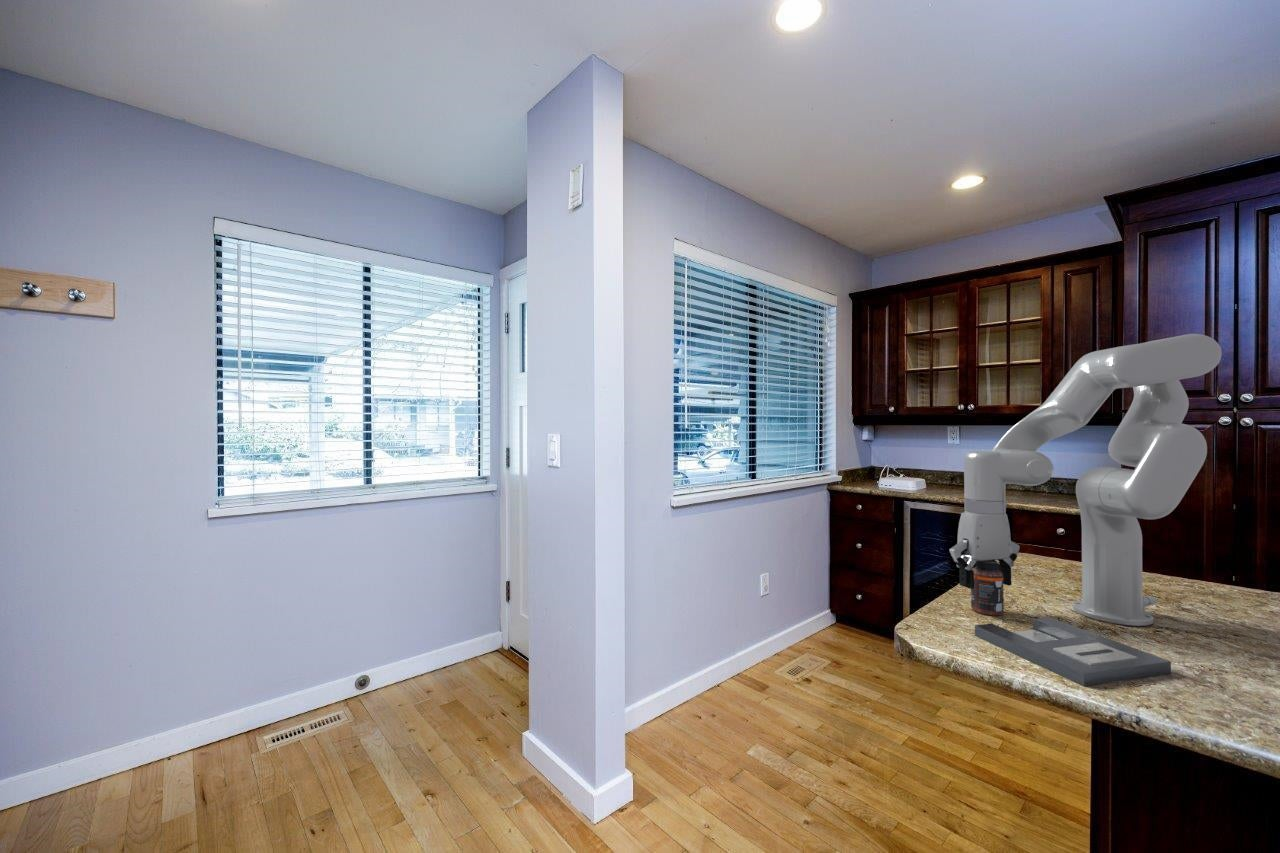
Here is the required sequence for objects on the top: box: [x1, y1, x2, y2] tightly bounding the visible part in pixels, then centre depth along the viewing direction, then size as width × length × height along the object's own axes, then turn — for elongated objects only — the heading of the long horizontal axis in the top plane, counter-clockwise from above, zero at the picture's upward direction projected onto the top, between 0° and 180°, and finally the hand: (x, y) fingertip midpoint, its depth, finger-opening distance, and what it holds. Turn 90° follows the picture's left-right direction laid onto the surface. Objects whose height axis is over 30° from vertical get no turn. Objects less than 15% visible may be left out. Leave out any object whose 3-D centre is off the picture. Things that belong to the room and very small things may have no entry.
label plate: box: [974, 617, 1172, 687], centre depth 92 cm, size 18×20×2 cm
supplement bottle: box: [970, 560, 1005, 617], centre depth 112 cm, size 6×6×11 cm
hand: (985, 585), depth 112 cm, fingers open, 9 cm apart
